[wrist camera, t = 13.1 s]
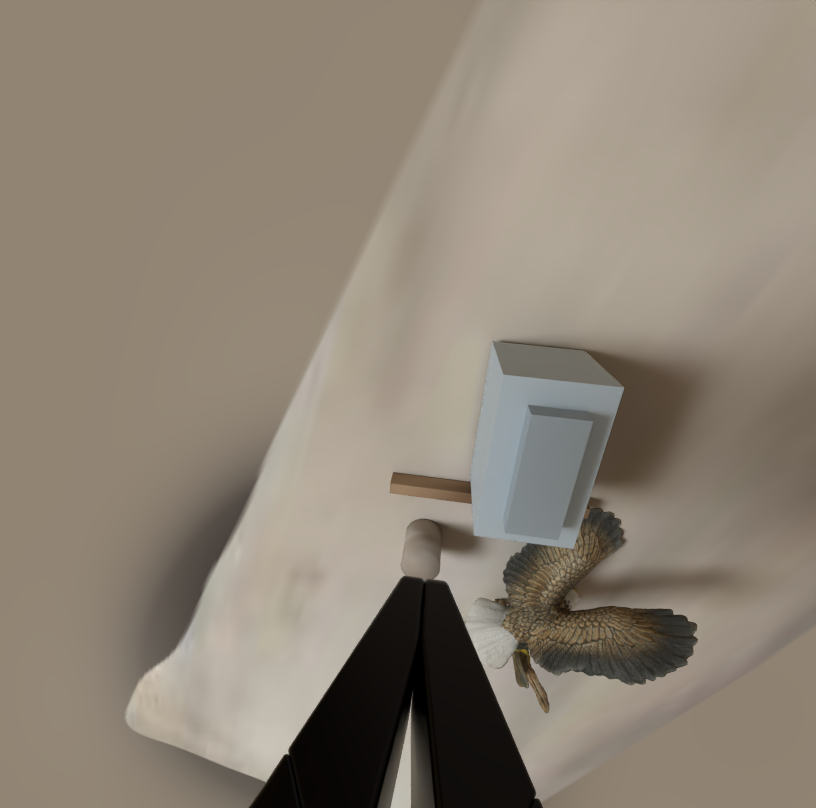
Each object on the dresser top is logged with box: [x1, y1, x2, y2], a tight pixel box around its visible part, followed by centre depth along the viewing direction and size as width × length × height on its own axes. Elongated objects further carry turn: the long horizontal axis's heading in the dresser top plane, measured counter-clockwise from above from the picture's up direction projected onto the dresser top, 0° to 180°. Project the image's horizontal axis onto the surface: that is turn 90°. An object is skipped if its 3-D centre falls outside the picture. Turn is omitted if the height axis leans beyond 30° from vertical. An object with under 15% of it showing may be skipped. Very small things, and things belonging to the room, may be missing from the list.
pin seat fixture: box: [390, 473, 590, 582], centre depth 21 cm, size 10×19×2 cm, turn 175°
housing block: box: [470, 341, 624, 549], centre depth 17 cm, size 4×7×5 cm, turn 175°
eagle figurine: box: [465, 508, 698, 713], centre depth 20 cm, size 8×7×9 cm
